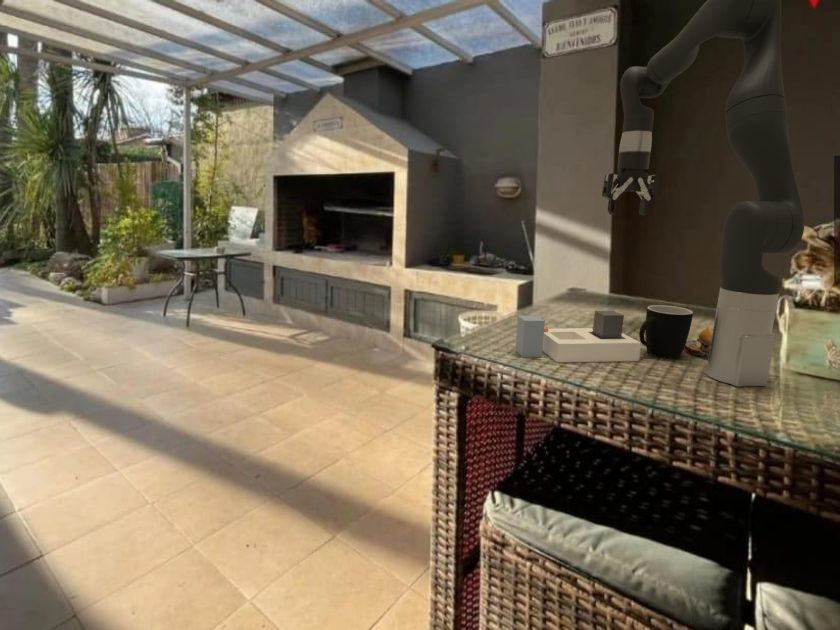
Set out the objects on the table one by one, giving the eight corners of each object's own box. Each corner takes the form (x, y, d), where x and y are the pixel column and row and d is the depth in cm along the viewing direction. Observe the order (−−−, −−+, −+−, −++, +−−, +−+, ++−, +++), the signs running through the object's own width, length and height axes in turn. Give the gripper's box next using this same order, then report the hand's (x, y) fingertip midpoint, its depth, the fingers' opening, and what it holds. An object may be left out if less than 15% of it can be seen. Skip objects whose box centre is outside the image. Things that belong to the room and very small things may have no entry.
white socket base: (638, 361, 104) (644, 319, 102) (556, 362, 102) (560, 320, 100) (610, 344, 116) (614, 307, 114) (536, 345, 113) (539, 307, 111)
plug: (541, 357, 105) (544, 320, 103) (521, 357, 105) (524, 320, 103) (534, 350, 110) (537, 315, 108) (515, 351, 109) (518, 315, 107)
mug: (661, 346, 115) (668, 304, 113) (695, 358, 107) (703, 312, 105) (622, 351, 111) (627, 307, 108) (654, 363, 103) (660, 316, 100)
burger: (753, 366, 104) (759, 331, 102) (692, 361, 106) (697, 327, 104) (730, 349, 115) (735, 318, 114) (675, 345, 118) (680, 314, 116)
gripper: (616, 148, 124) (609, 214, 127) (669, 150, 125) (660, 216, 129) (601, 151, 131) (595, 213, 135) (652, 153, 133) (644, 214, 136)
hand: (627, 214), depth 132 cm, fingers open, 8 cm apart
